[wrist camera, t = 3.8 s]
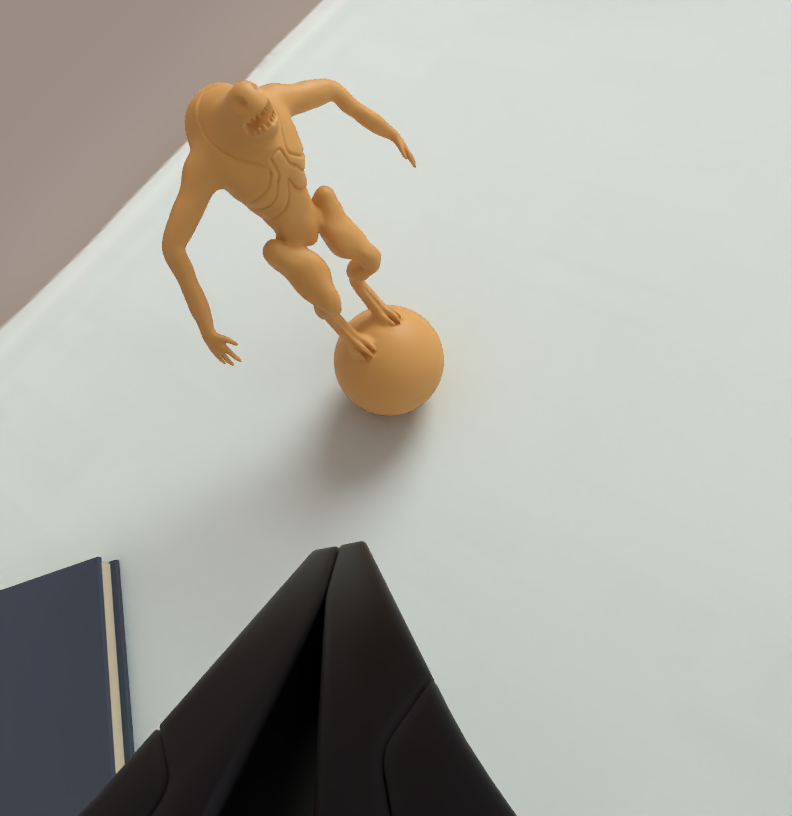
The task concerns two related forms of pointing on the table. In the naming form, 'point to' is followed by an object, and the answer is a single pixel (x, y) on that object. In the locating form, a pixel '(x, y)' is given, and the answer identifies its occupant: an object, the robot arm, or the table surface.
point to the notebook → (62, 690)
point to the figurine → (299, 234)
